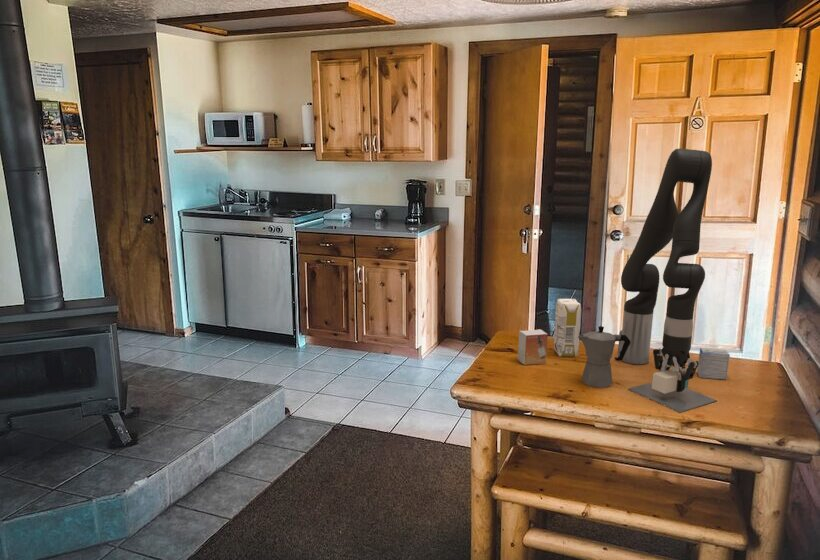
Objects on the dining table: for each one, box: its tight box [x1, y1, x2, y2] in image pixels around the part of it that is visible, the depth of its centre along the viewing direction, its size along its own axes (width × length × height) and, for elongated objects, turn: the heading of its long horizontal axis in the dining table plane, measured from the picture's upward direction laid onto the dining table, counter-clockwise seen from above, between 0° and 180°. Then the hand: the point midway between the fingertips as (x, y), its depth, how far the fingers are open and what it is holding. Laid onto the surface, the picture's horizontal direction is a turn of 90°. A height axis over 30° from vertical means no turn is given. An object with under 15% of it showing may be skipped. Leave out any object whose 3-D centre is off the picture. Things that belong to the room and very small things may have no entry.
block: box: [651, 367, 690, 394], centre depth 174 cm, size 4×4×10 cm
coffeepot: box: [578, 325, 630, 389], centre depth 183 cm, size 15×9×18 cm, turn 82°
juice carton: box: [553, 298, 582, 358], centre depth 209 cm, size 8×9×19 cm
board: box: [627, 381, 718, 414], centre depth 176 cm, size 18×16×1 cm
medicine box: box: [696, 347, 731, 381], centre depth 190 cm, size 8×4×9 cm, turn 74°
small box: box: [517, 328, 549, 366], centre depth 201 cm, size 8×6×10 cm
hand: (671, 388), depth 175 cm, fingers closed on block, 4 cm apart
